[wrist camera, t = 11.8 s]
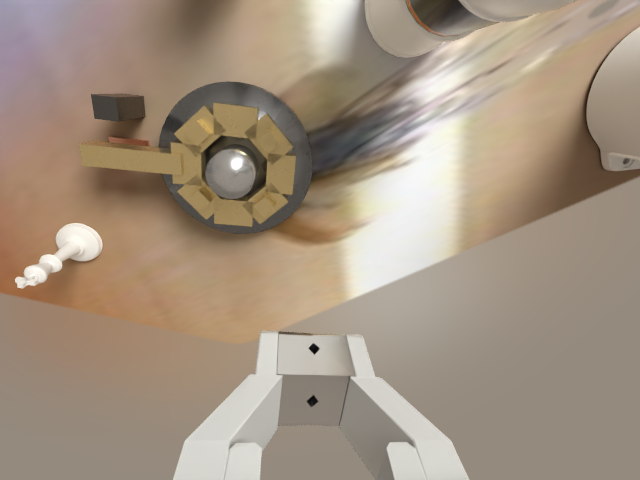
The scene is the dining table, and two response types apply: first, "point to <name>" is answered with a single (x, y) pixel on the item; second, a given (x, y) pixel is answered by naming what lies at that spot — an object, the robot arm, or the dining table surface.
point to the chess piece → (64, 253)
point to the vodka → (441, 20)
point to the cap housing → (223, 146)
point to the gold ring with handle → (191, 162)
